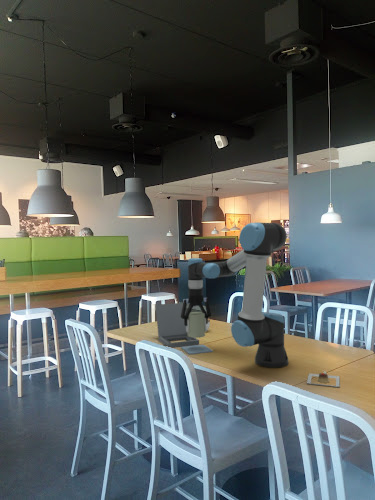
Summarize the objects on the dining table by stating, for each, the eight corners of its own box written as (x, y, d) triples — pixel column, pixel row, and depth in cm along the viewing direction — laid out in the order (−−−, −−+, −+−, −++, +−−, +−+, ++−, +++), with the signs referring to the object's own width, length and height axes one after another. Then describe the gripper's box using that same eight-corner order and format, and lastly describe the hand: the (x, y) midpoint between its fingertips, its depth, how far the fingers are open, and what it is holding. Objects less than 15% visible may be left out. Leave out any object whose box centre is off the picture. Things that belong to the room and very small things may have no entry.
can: (203, 338, 203) (203, 314, 203) (185, 337, 205) (185, 314, 205) (206, 333, 212) (206, 311, 212) (189, 333, 214) (188, 310, 214)
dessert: (306, 385, 157) (306, 373, 156) (308, 376, 168) (308, 364, 168) (339, 389, 152) (339, 377, 152) (339, 379, 164) (339, 367, 163)
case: (199, 344, 219) (198, 308, 218) (167, 348, 213) (167, 310, 212) (185, 335, 240) (184, 302, 240) (156, 338, 234) (155, 304, 234)
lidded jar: (213, 330, 252) (213, 315, 252) (204, 334, 243) (204, 318, 243) (198, 328, 258) (198, 314, 258) (189, 332, 249) (189, 317, 248)
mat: (213, 351, 205) (213, 350, 205) (189, 354, 200) (189, 353, 200) (203, 345, 217) (203, 344, 217) (180, 348, 212) (180, 347, 212)
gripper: (211, 286, 215) (212, 327, 216) (173, 288, 208) (174, 331, 208) (217, 287, 208) (218, 330, 208) (178, 289, 201) (178, 334, 201)
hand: (196, 330), depth 208 cm, fingers closed on can, 9 cm apart
